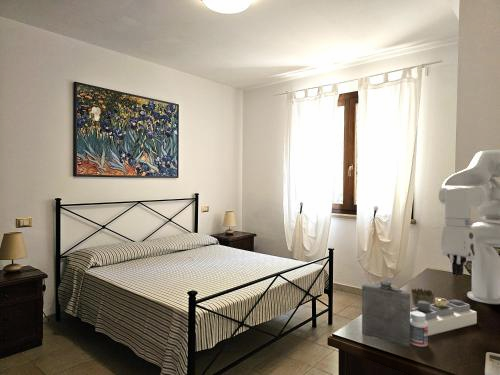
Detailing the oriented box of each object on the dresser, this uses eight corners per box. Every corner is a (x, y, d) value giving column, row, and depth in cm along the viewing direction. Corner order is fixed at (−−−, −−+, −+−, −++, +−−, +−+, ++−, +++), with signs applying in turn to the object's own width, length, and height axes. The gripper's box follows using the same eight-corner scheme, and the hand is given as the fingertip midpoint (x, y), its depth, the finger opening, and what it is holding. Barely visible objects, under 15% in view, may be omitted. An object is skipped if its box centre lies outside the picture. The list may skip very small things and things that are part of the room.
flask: (364, 330, 109) (364, 276, 109) (411, 342, 101) (411, 284, 100) (360, 334, 107) (360, 278, 106) (408, 347, 98) (409, 287, 97)
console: (451, 313, 122) (452, 297, 122) (476, 323, 114) (476, 306, 113) (404, 324, 113) (405, 307, 113) (427, 335, 105) (427, 317, 105)
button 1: (423, 307, 113) (423, 300, 113) (432, 311, 109) (432, 303, 109) (415, 309, 111) (415, 301, 111) (424, 313, 108) (424, 305, 108)
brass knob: (439, 304, 116) (439, 296, 116) (449, 307, 112) (449, 299, 112) (432, 305, 114) (432, 297, 114) (441, 309, 111) (441, 301, 111)
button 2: (455, 306, 119) (455, 299, 119) (465, 309, 115) (465, 302, 115) (448, 307, 117) (448, 300, 117) (458, 311, 114) (458, 303, 114)
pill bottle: (427, 348, 97) (427, 318, 97) (407, 344, 100) (407, 315, 100) (428, 341, 102) (428, 312, 101) (409, 337, 104) (409, 309, 104)
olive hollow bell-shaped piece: (436, 317, 119) (436, 295, 119) (414, 315, 120) (414, 294, 120) (429, 309, 126) (430, 288, 126) (409, 308, 128) (409, 287, 127)
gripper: (486, 224, 110) (486, 278, 111) (445, 219, 124) (445, 267, 125) (471, 226, 107) (471, 282, 108) (430, 220, 121) (431, 270, 122)
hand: (457, 274), depth 116 cm, fingers closed
